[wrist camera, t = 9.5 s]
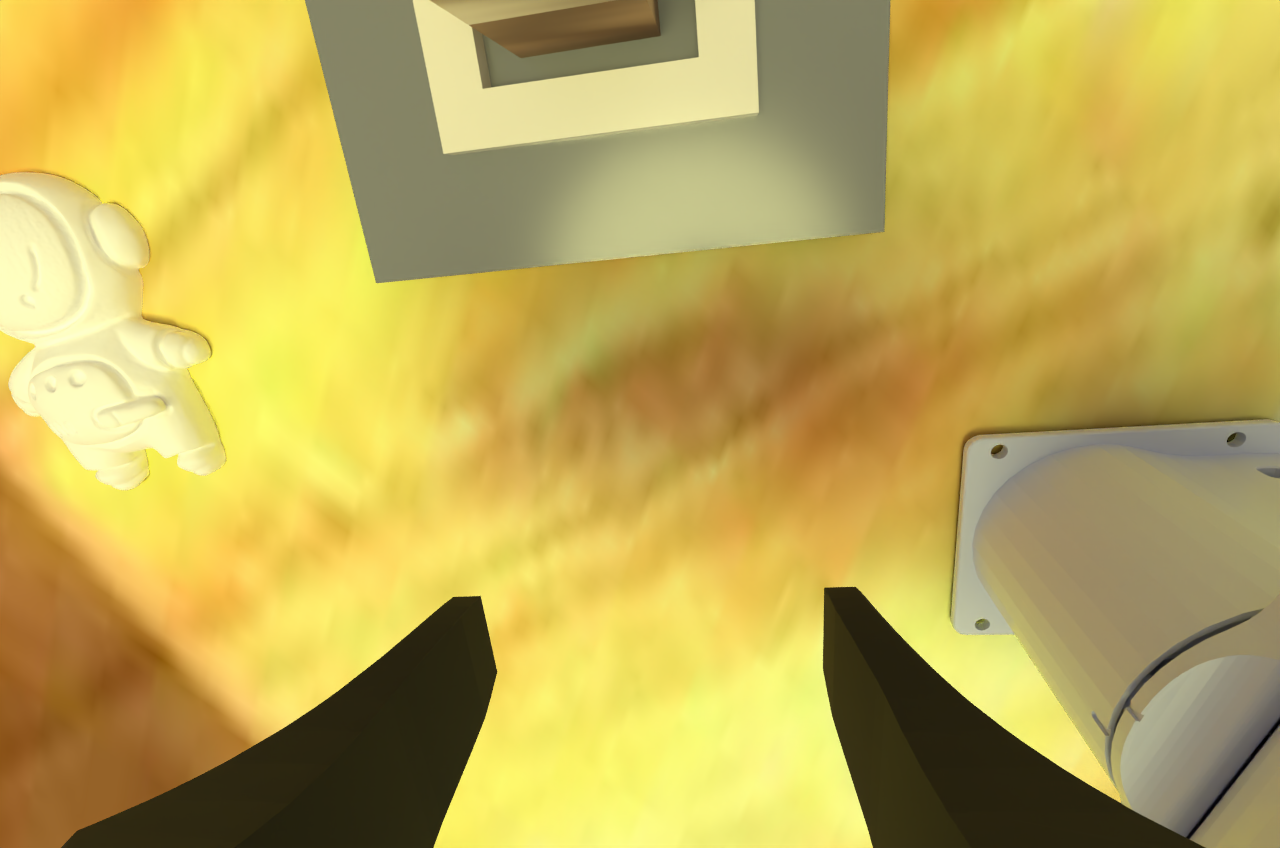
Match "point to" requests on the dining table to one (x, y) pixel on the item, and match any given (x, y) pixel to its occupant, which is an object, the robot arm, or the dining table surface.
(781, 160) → the slate plate
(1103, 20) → the dining table surface
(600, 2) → the block stack
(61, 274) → the astronaut figurine
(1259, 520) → the robot arm
